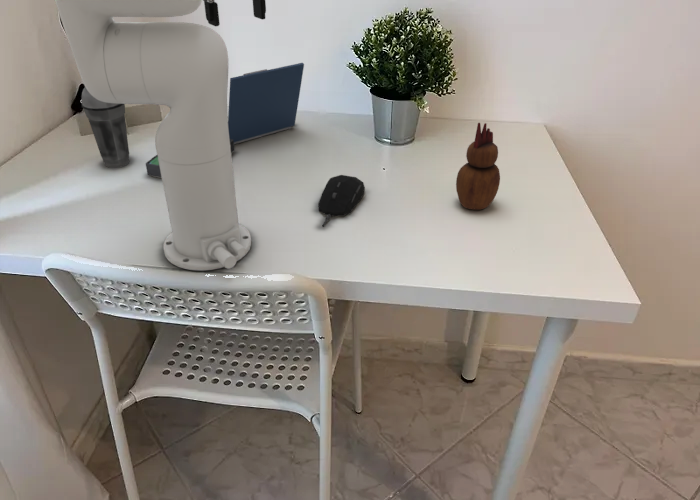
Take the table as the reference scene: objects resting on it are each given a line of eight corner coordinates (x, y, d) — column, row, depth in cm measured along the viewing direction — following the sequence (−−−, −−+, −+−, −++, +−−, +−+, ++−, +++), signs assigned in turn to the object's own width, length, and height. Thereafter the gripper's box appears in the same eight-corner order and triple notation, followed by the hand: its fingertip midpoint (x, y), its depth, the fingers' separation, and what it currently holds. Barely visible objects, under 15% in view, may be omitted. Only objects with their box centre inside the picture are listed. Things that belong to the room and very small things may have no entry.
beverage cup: (143, 155, 112) (122, 49, 101) (127, 172, 106) (103, 61, 95) (107, 153, 112) (81, 47, 101) (89, 170, 106) (60, 59, 95)
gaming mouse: (304, 223, 92) (303, 201, 90) (335, 182, 104) (335, 162, 101) (342, 230, 90) (342, 208, 88) (369, 188, 102) (370, 167, 100)
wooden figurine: (463, 216, 95) (475, 129, 86) (448, 199, 99) (459, 115, 91) (500, 211, 96) (516, 125, 88) (485, 194, 101) (498, 111, 92)
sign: (304, 64, 113) (290, 50, 115) (231, 79, 105) (217, 65, 107) (294, 128, 124) (281, 114, 126) (228, 146, 116) (215, 132, 118)
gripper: (191, -81, 92) (204, 31, 101) (282, -85, 101) (287, 19, 110) (170, -85, 97) (185, 23, 106) (260, -88, 106) (266, 12, 115)
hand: (237, 21), depth 108 cm, fingers open, 9 cm apart
